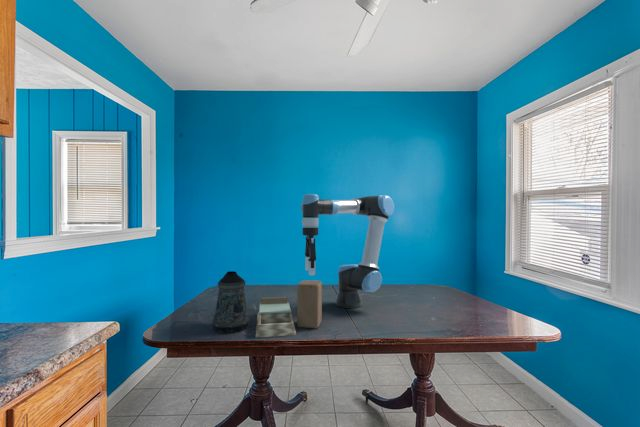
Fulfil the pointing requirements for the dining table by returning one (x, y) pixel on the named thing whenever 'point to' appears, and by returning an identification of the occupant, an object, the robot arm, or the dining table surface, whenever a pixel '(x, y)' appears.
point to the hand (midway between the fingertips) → (310, 272)
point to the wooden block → (309, 304)
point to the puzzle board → (275, 325)
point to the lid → (274, 305)
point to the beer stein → (231, 305)
